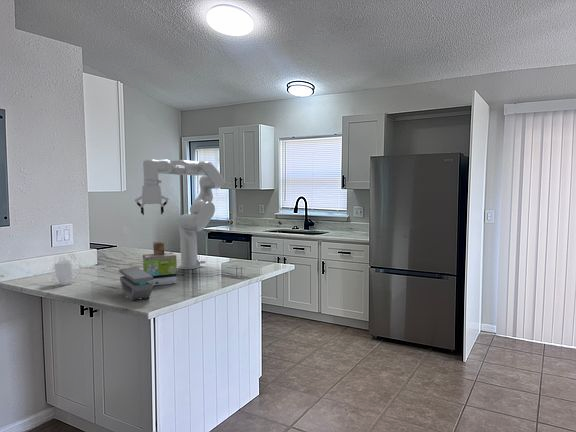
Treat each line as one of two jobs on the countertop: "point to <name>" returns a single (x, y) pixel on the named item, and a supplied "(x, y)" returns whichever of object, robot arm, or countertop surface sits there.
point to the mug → (65, 271)
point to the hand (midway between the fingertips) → (152, 214)
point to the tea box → (161, 268)
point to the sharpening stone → (136, 283)
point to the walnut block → (158, 248)
